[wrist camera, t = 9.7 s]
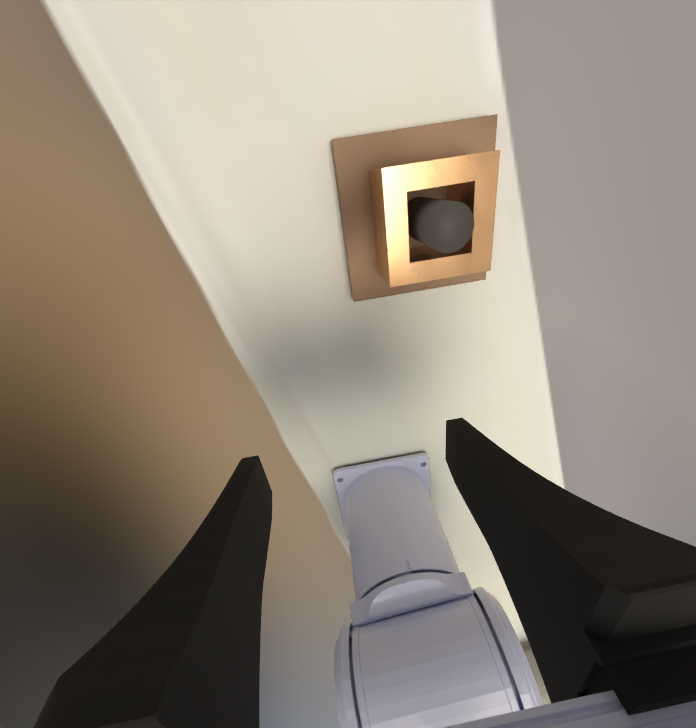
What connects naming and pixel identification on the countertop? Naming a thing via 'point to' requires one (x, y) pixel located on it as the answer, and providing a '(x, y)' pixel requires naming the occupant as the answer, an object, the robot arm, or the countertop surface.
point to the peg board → (425, 207)
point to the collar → (464, 184)
